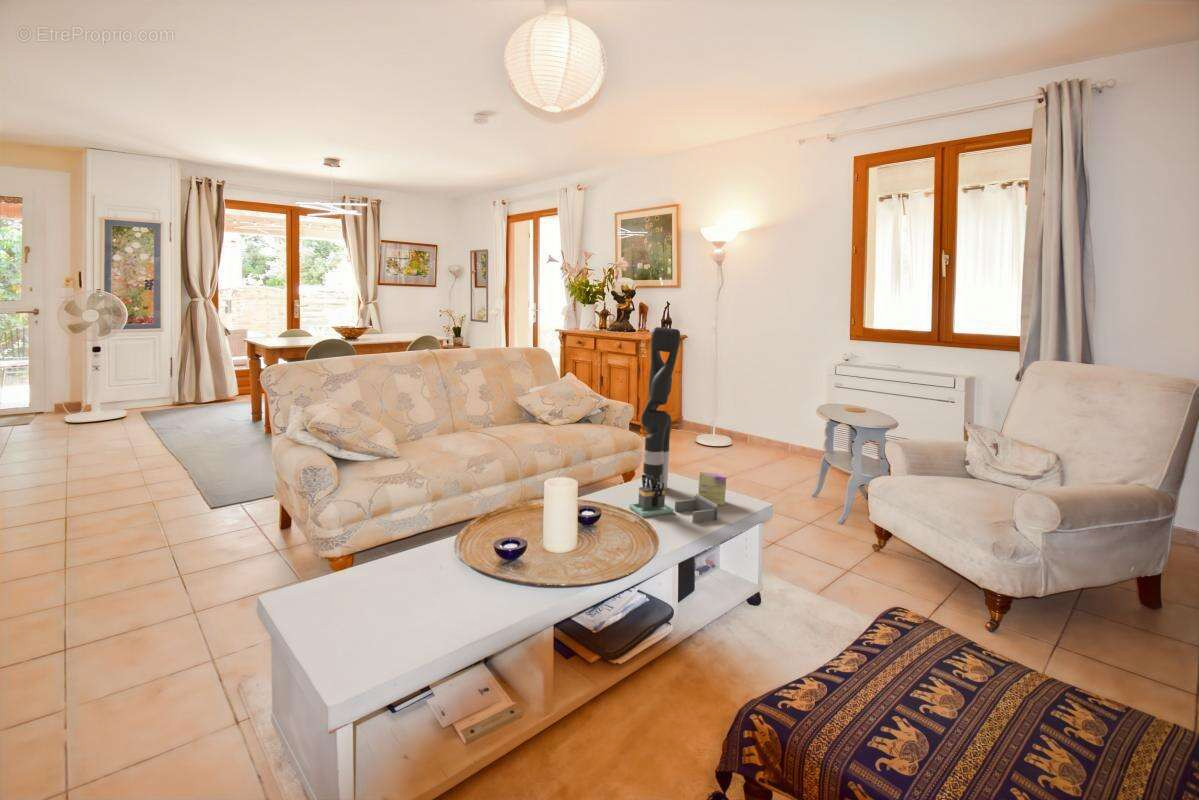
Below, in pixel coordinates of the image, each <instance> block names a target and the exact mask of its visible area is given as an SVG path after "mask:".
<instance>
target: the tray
mask: <svg viewBox="0 0 1199 800" xmlns="http://www.w3.org/2000/svg"><path fill="white" fill-rule="evenodd" d="M638 503H639V502H634V503H629V509H630V510H631V511H632V512H634V513H635V514H636V515H638V516H639V517H641V518H648V517H654V516H664V515H670V514H674V512H675V508H673V507H671V506H670V505H668V504H666V502H665V503H664V507H661V508H654V509H646V510H643V509H642V508H641V507H639V506H638Z"/></svg>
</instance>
